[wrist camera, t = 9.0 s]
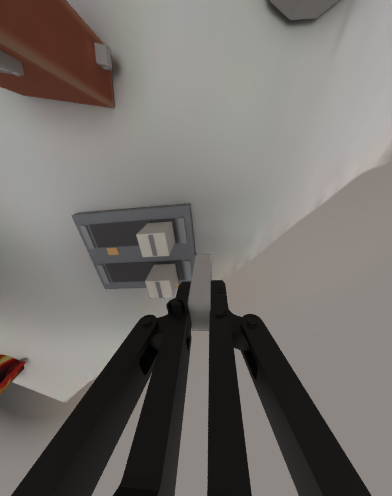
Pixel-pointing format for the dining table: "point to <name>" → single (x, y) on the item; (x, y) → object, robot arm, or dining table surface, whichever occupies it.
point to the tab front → (156, 239)
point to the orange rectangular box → (53, 53)
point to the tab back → (162, 281)
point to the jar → (303, 8)
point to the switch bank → (135, 243)
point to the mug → (9, 370)
